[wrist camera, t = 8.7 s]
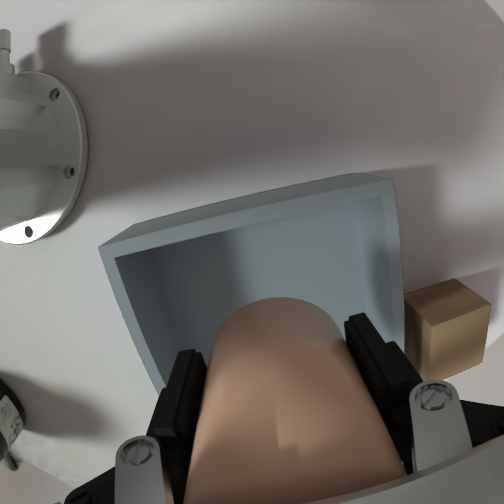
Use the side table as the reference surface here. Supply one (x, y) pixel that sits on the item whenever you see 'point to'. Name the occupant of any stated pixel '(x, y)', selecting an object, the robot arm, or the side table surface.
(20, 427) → the ink bottle
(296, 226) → the tote
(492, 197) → the side table surface
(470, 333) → the walnut cube
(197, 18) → the side table surface
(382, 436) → the peach domed capsule
